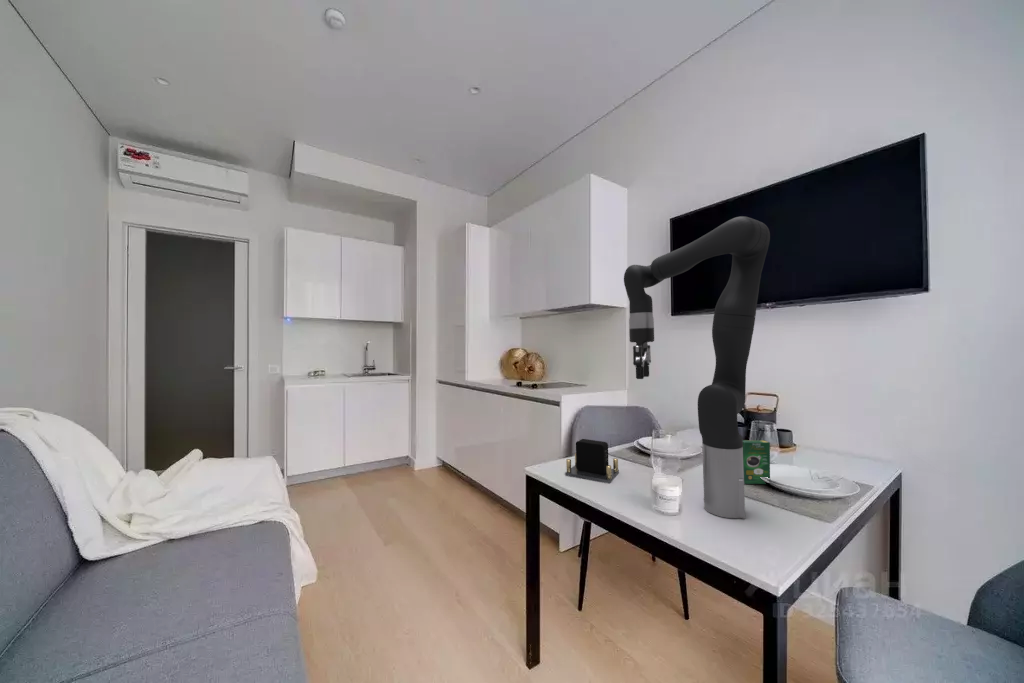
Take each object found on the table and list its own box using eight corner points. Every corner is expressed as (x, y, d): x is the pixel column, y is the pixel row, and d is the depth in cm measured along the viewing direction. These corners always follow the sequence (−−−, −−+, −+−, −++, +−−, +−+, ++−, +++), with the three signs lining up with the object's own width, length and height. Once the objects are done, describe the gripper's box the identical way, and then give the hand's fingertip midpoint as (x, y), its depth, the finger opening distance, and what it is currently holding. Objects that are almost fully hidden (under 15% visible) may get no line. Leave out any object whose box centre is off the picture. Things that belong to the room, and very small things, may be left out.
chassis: (619, 472, 125) (619, 458, 125) (610, 483, 116) (609, 467, 116) (576, 465, 133) (576, 452, 133) (565, 475, 124) (564, 460, 124)
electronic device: (604, 475, 120) (603, 445, 120) (576, 470, 126) (575, 441, 126) (608, 471, 123) (608, 442, 123) (581, 466, 129) (580, 438, 129)
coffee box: (765, 481, 115) (764, 439, 115) (771, 484, 112) (770, 441, 112) (739, 481, 115) (738, 439, 115) (744, 484, 112) (743, 441, 112)
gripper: (649, 326, 110) (650, 380, 109) (657, 327, 122) (659, 376, 122) (623, 327, 114) (625, 379, 113) (634, 328, 126) (636, 375, 126)
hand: (642, 377), depth 118 cm, fingers open, 8 cm apart
